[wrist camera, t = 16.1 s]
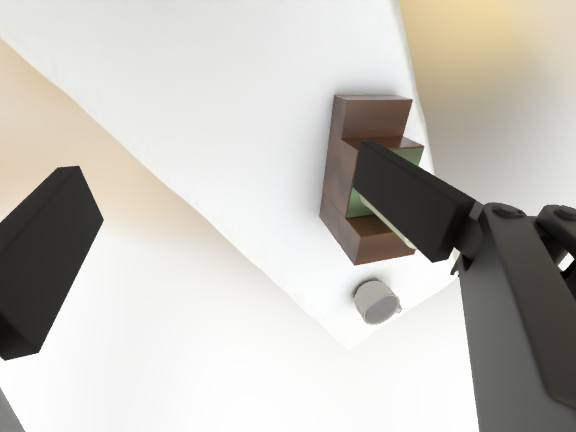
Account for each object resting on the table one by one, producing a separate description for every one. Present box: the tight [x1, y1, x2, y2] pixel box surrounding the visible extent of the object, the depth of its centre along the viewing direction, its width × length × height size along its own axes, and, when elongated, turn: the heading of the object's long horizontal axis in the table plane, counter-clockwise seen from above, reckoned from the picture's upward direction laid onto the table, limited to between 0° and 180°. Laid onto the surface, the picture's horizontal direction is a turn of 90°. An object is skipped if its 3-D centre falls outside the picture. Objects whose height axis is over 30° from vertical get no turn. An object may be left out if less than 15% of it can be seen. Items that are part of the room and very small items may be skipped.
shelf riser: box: [320, 95, 424, 266], centre depth 46 cm, size 24×12×16 cm, turn 178°
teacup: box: [354, 281, 402, 325], centre depth 73 cm, size 14×11×8 cm
